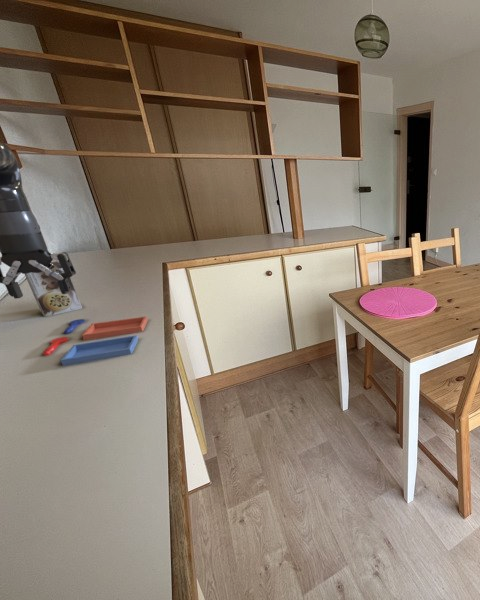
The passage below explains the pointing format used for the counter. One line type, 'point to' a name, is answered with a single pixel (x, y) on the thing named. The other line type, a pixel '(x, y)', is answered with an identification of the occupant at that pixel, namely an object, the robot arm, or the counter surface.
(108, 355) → the blue tray
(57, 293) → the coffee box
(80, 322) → the blue spoon
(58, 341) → the red spoon
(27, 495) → the counter surface
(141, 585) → the counter surface
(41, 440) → the counter surface
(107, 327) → the red tray
